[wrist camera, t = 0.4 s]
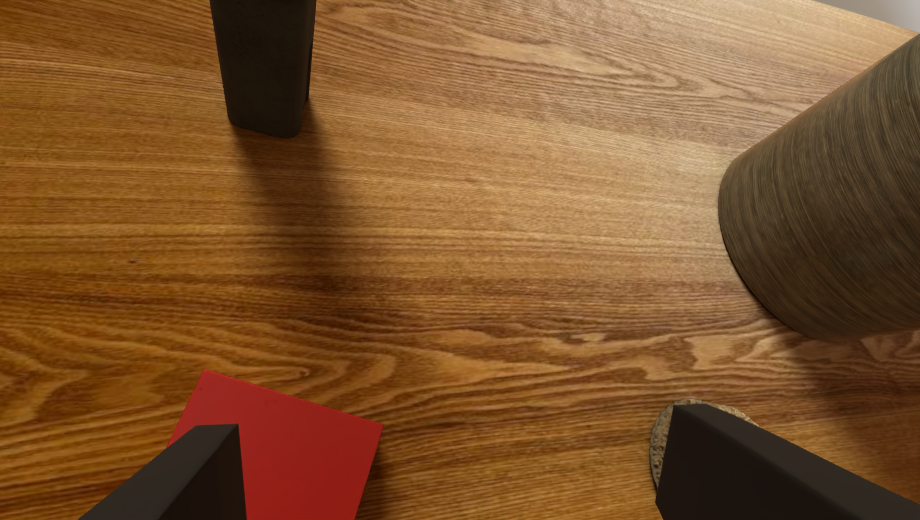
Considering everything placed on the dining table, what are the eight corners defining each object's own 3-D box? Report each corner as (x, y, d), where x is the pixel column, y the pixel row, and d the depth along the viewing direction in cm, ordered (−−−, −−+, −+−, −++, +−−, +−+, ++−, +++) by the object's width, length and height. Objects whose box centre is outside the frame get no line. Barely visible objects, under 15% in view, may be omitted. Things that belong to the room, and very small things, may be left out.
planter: (795, 124, 58) (1026, -21, 40) (912, 292, 54) (1223, 216, 36) (673, 180, 48) (905, 23, 30) (806, 389, 45) (1157, 350, 27)
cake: (625, 412, 39) (672, 400, 34) (719, 389, 42) (773, 376, 38) (673, 556, 35) (733, 564, 30) (771, 517, 39) (837, 520, 34)
